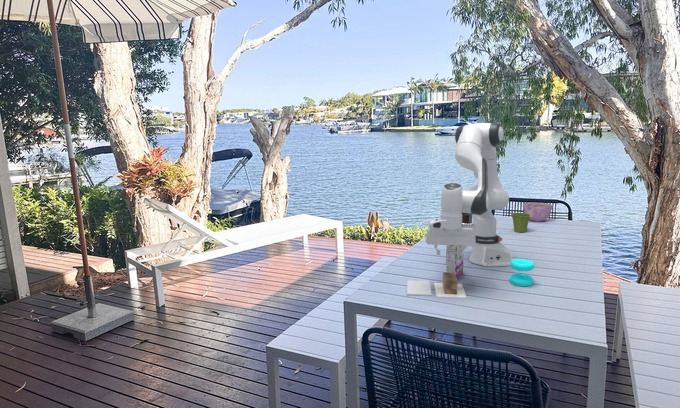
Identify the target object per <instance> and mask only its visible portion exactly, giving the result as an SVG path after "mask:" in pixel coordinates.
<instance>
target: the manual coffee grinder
mask: <svg viewBox="0 0 680 408" xmlns="http://www.w3.org/2000/svg"><path fill="white" fill-rule="evenodd" d="M462 223H467V224H470V223H472V224H473V215H472V213H462Z"/></svg>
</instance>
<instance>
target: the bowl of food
mask: <svg viewBox="0 0 680 408" xmlns="http://www.w3.org/2000/svg"><path fill="white" fill-rule="evenodd" d="M553 207H554V205H553V204H550V203H545V202H534V201H533V202H531V201H530V202H524V203H522V209H523V213H526V214H530V215H531V216H530V218H529V221H531V222H537V223H540V222H544V221H546V220H548V218H549V217H550V216H551V212H552V209H553Z"/></svg>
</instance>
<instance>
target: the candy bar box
mask: <svg viewBox="0 0 680 408" xmlns="http://www.w3.org/2000/svg"><path fill="white" fill-rule="evenodd" d="M462 249H463V247H462V246H458V245H446V259H445V260H446V267H445V268H446V269H445V271H446V272H448V273H455V275H456V278H457V279H459V277H461V276H462V274H464V255H463V256H460V255H459V251H462Z"/></svg>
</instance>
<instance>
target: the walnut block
mask: <svg viewBox="0 0 680 408" xmlns="http://www.w3.org/2000/svg"><path fill="white" fill-rule="evenodd" d="M442 283H443V289H444V293H445V294H457V284H458V278H456V275H455V273H448V272H444V271H443V272H442Z"/></svg>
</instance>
